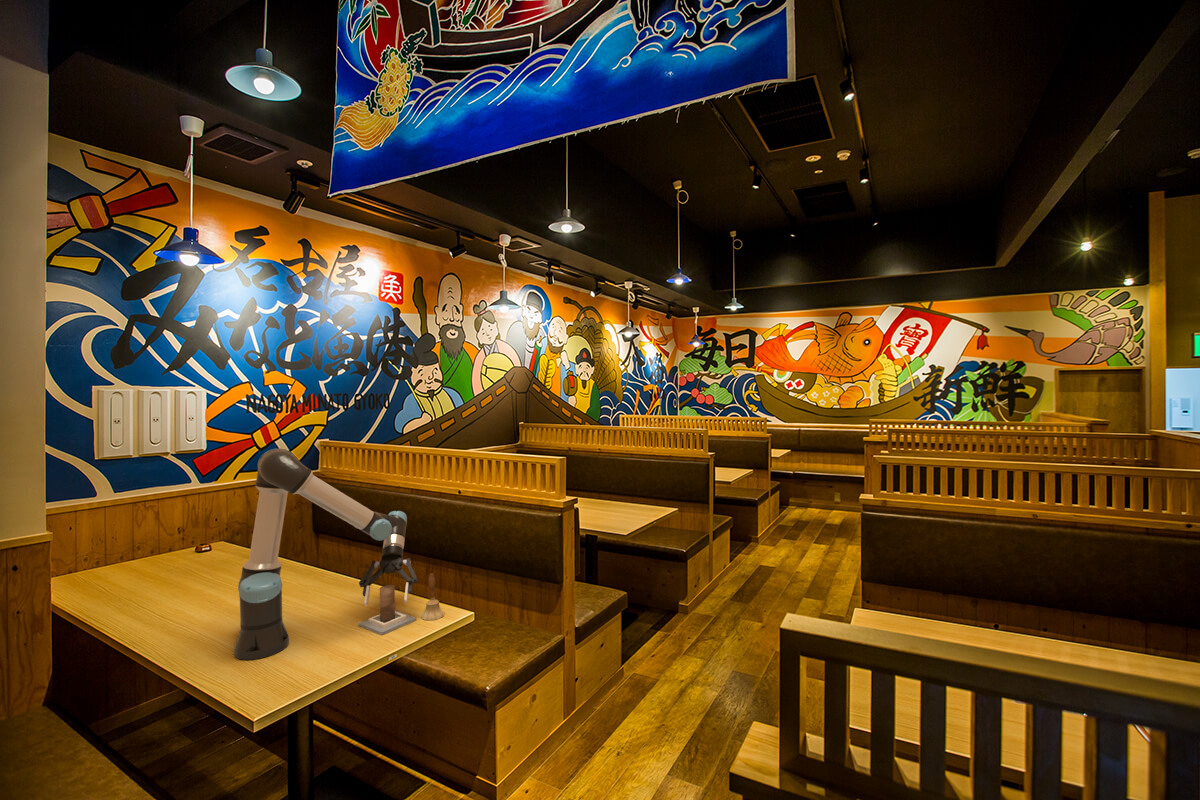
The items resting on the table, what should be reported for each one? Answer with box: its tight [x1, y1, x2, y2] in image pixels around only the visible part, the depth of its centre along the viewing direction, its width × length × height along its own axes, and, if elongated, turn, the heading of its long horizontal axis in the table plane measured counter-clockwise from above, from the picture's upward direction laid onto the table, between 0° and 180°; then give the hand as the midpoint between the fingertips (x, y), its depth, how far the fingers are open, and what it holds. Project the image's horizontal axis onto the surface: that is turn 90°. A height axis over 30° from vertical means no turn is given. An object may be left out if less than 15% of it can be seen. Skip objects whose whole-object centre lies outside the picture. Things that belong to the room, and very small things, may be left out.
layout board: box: [358, 609, 417, 636], centre depth 192 cm, size 14×14×2 cm
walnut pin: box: [379, 584, 396, 623], centre depth 192 cm, size 5×5×12 cm
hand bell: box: [421, 573, 445, 621], centre depth 198 cm, size 8×8×16 cm
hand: (385, 603), depth 190 cm, fingers open, 13 cm apart
